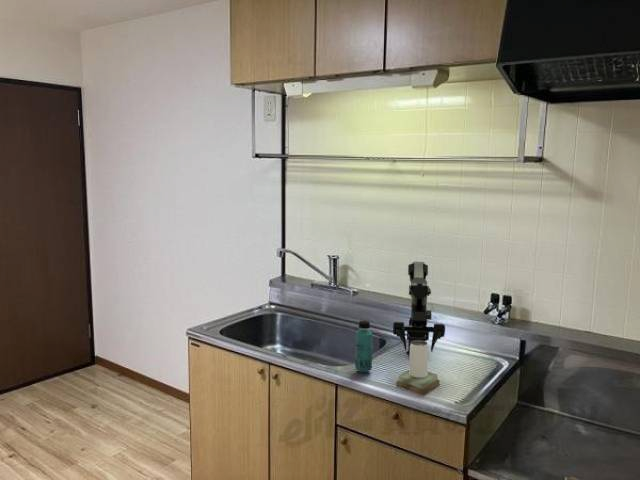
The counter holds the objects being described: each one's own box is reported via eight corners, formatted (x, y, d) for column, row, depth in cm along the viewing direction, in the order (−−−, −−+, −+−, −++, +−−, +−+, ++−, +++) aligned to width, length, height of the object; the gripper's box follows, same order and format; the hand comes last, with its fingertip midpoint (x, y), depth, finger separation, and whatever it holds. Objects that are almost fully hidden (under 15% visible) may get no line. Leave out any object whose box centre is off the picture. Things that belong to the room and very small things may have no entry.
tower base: (396, 386, 186) (396, 376, 186) (412, 377, 195) (412, 366, 194) (424, 395, 179) (424, 384, 179) (439, 385, 188) (439, 374, 187)
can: (416, 379, 182) (416, 346, 180) (405, 373, 188) (406, 341, 186) (431, 376, 185) (432, 344, 183) (420, 370, 191) (421, 338, 189)
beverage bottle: (357, 368, 203) (358, 318, 200) (374, 370, 201) (375, 320, 198) (352, 374, 197) (352, 322, 194) (369, 377, 195) (370, 324, 192)
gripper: (393, 300, 193) (392, 339, 184) (445, 302, 190) (446, 342, 181) (393, 315, 202) (392, 352, 193) (443, 317, 199) (444, 355, 190)
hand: (418, 350), depth 189 cm, fingers open, 9 cm apart
